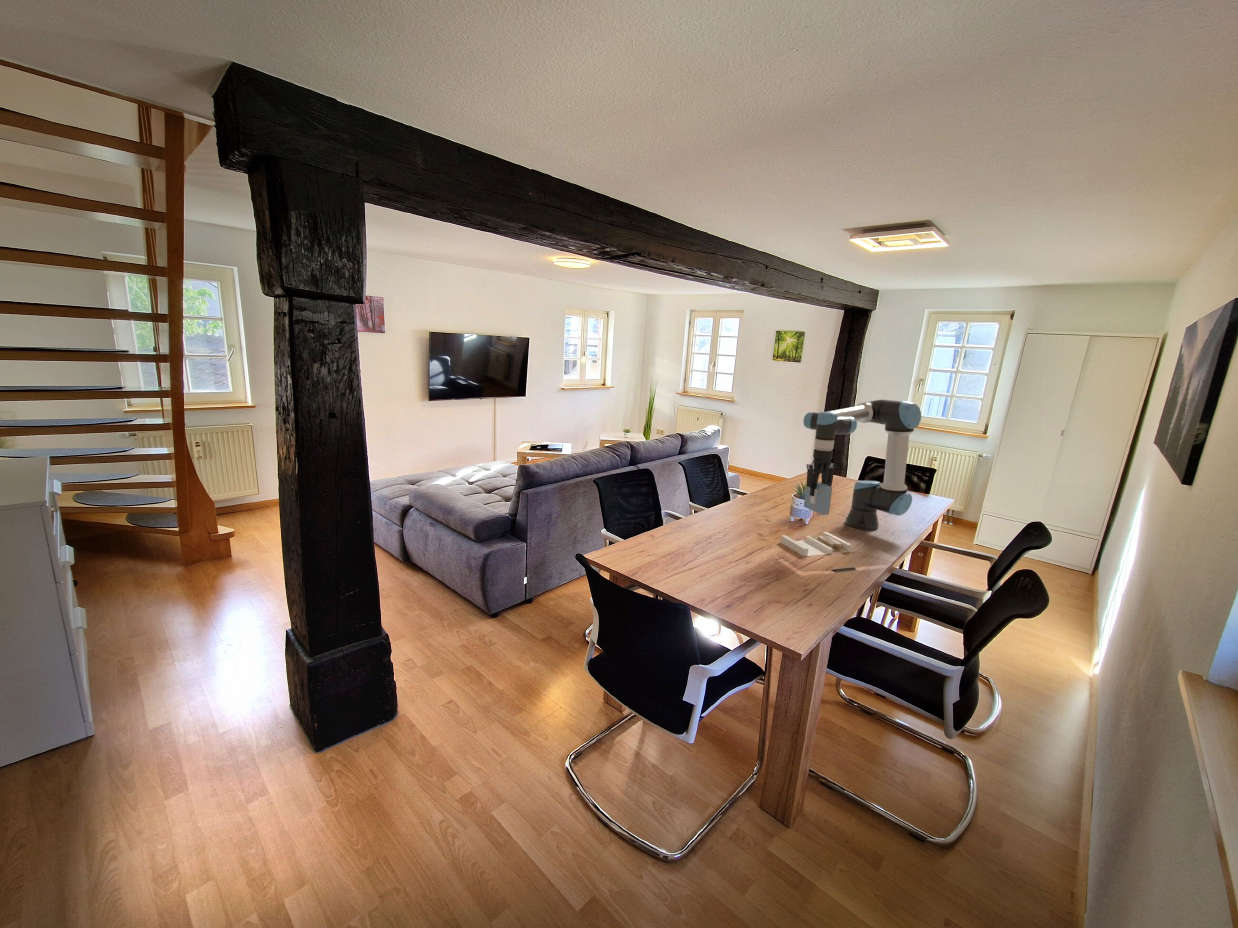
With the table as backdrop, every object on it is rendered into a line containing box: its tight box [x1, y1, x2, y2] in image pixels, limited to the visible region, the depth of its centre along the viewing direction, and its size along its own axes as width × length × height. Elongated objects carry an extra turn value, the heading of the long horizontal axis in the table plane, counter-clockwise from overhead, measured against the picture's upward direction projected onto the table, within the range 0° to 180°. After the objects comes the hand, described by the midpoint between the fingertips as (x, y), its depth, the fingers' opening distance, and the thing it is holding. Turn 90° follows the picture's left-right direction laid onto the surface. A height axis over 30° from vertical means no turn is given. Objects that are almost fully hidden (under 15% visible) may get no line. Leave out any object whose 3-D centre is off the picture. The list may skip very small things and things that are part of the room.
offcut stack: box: [812, 535, 845, 552], centre depth 216 cm, size 6×14×3 cm, turn 16°
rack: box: [780, 531, 853, 557], centre depth 214 cm, size 24×16×4 cm, turn 106°
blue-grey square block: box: [803, 481, 833, 516], centre depth 209 cm, size 4×12×12 cm, turn 16°
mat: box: [831, 567, 857, 574], centre depth 199 cm, size 10×14×1 cm
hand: (816, 502), depth 209 cm, fingers closed on blue-grey square block, 3 cm apart
